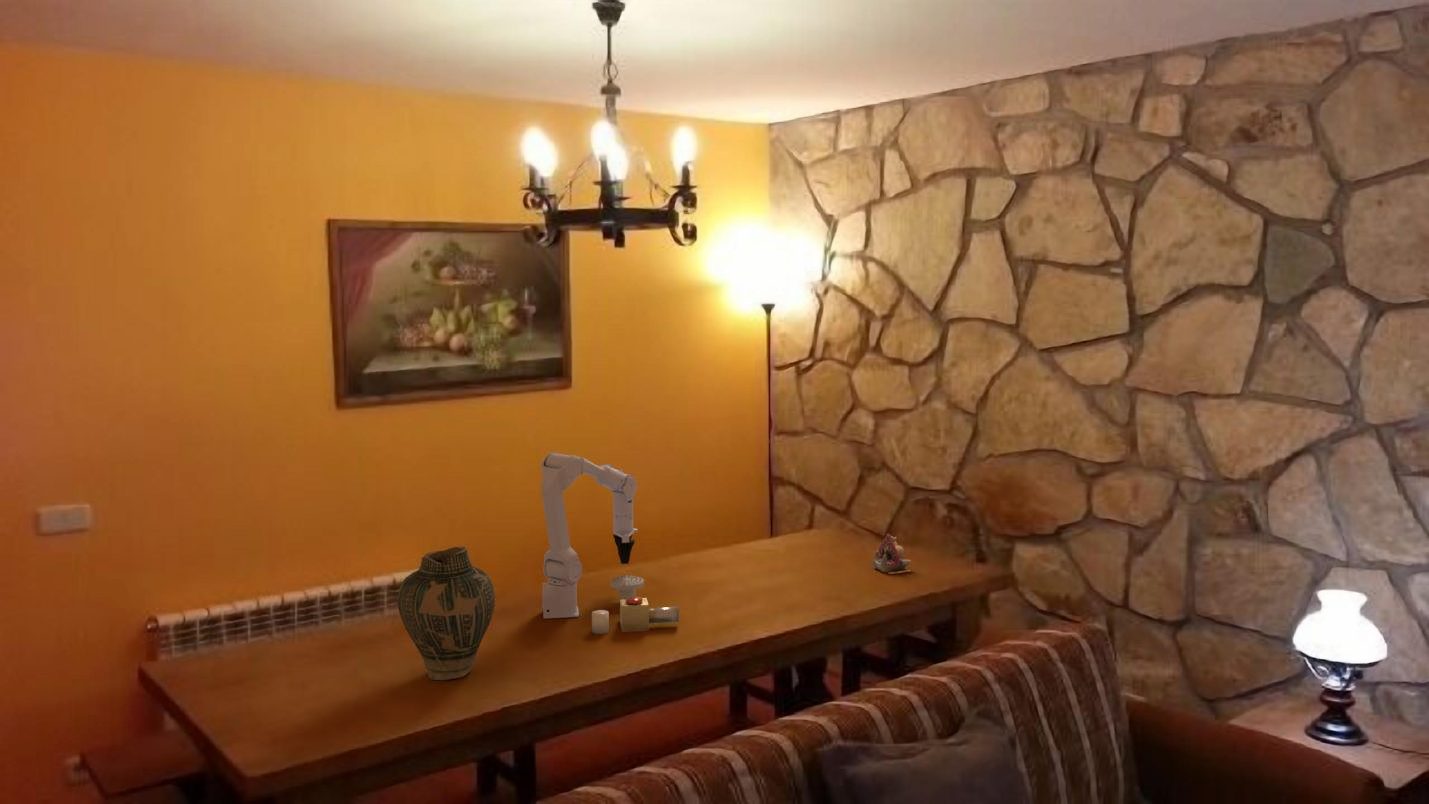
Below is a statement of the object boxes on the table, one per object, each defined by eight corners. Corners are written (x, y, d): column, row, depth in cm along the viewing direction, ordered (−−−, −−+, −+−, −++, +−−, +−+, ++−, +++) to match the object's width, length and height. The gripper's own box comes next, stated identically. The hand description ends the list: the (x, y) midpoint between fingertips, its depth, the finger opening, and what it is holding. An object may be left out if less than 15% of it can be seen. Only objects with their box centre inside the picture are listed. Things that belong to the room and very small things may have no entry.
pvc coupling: (592, 634, 297) (592, 615, 296) (591, 629, 301) (591, 610, 300) (609, 633, 297) (609, 614, 297) (608, 628, 302) (608, 609, 301)
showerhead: (606, 582, 318) (613, 572, 327) (607, 607, 319) (614, 596, 328) (640, 583, 317) (646, 572, 326) (640, 608, 318) (646, 597, 327)
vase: (516, 672, 271) (513, 548, 266) (437, 699, 254) (432, 568, 250) (460, 650, 285) (456, 532, 281) (381, 675, 269) (376, 550, 265)
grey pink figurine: (860, 559, 358) (880, 526, 359) (883, 576, 362) (904, 544, 364) (879, 568, 347) (900, 535, 349) (903, 586, 352) (924, 553, 353)
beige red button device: (622, 632, 298) (621, 603, 297) (618, 618, 309) (618, 590, 308) (679, 629, 300) (679, 600, 299) (674, 615, 311) (673, 587, 310)
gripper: (639, 520, 323) (640, 567, 325) (634, 508, 337) (635, 553, 339) (614, 521, 322) (615, 568, 323) (610, 509, 336) (611, 554, 338)
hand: (623, 560), depth 331 cm, fingers open, 5 cm apart
